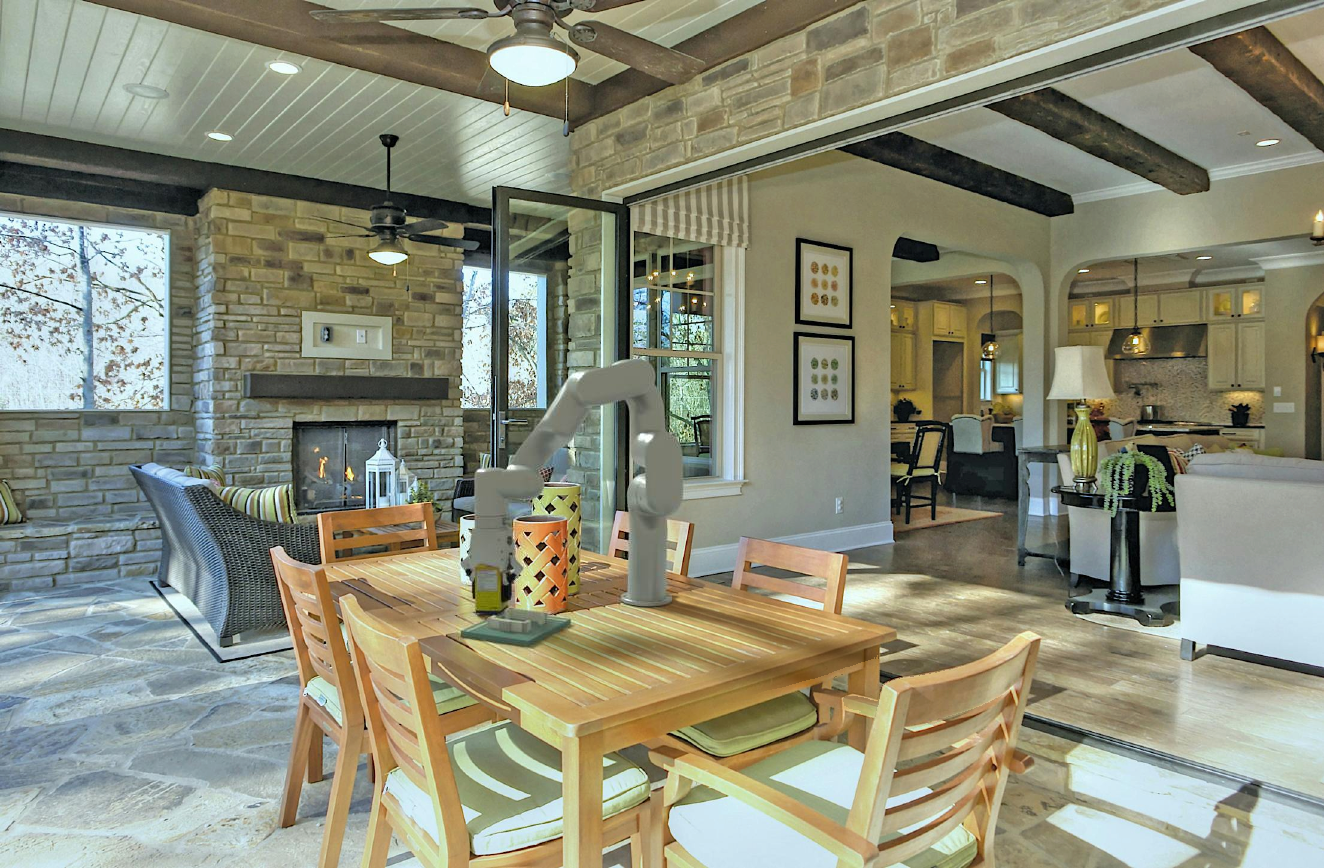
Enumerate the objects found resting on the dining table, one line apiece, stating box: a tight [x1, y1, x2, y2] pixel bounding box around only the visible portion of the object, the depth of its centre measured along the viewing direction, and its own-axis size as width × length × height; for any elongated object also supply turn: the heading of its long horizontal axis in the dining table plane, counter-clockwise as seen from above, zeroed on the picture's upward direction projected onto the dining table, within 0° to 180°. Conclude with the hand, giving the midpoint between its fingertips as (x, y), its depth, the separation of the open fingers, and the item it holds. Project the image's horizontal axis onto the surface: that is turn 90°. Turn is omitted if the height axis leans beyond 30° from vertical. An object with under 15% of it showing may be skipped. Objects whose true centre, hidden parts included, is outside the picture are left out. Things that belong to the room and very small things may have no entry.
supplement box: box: [474, 565, 509, 615], centre depth 183 cm, size 6×6×11 cm
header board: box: [460, 607, 572, 648], centre depth 170 cm, size 18×16×3 cm
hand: (491, 598), depth 183 cm, fingers closed on supplement box, 7 cm apart
